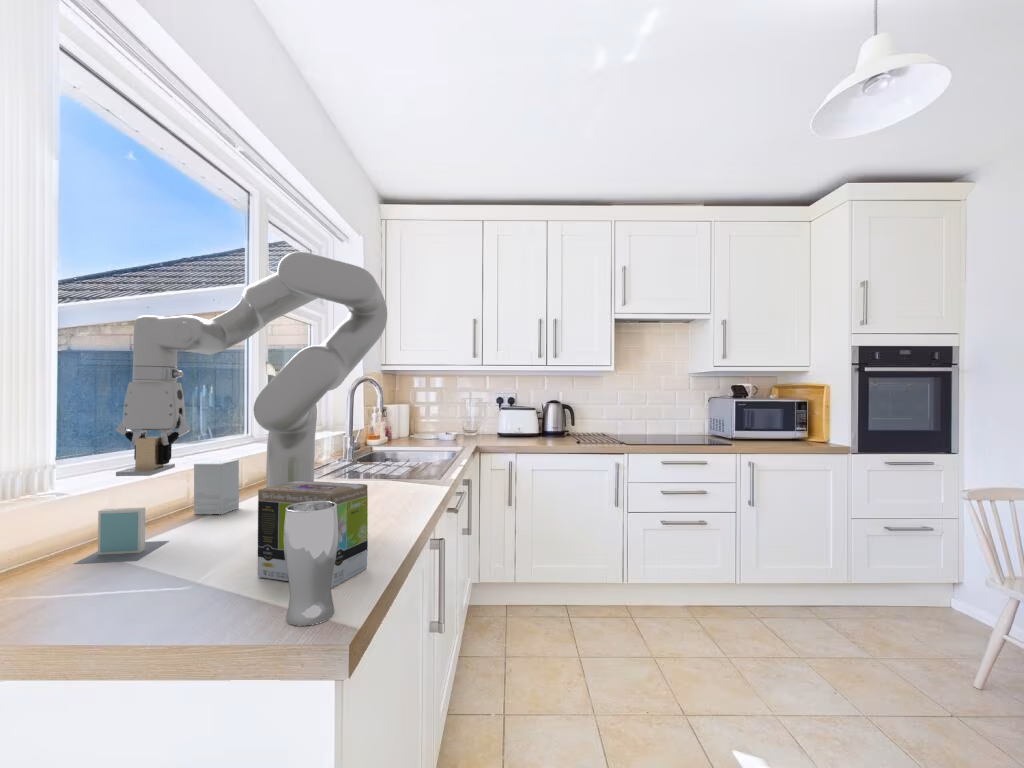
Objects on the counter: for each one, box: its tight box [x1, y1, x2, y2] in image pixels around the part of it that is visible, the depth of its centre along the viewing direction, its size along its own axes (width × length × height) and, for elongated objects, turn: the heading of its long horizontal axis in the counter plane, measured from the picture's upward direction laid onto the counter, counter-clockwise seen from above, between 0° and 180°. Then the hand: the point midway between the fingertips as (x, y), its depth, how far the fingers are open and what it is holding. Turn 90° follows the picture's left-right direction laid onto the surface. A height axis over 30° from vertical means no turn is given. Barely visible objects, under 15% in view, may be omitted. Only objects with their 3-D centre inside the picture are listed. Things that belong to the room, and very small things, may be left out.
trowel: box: [115, 436, 176, 477], centre depth 103 cm, size 10×6×7 cm, turn 10°
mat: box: [73, 540, 170, 565], centre depth 95 cm, size 10×12×1 cm
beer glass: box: [283, 501, 338, 627], centre depth 69 cm, size 7×7×15 cm
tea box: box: [257, 480, 369, 589], centre depth 85 cm, size 15×10×15 cm, turn 71°
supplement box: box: [193, 459, 240, 516], centre depth 128 cm, size 7×7×13 cm
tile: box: [97, 507, 146, 555], centre depth 95 cm, size 2×7×8 cm, turn 101°
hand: (152, 462), depth 106 cm, fingers closed on trowel, 3 cm apart
